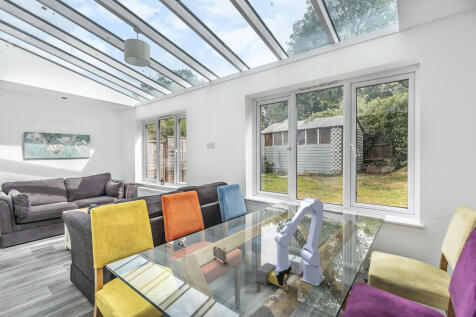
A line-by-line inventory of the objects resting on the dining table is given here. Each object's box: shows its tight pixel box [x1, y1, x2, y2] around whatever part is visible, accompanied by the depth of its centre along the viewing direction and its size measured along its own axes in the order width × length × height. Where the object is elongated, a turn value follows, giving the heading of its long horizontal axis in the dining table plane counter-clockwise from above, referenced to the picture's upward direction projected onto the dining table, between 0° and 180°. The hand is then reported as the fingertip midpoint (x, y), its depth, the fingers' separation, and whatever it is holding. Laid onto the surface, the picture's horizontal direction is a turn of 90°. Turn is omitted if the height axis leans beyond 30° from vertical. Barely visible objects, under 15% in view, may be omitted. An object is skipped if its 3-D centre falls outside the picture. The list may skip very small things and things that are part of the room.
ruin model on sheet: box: [212, 245, 227, 262], centre depth 147 cm, size 11×3×10 cm, turn 39°
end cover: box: [268, 270, 288, 288], centre depth 118 cm, size 10×5×5 cm, turn 50°
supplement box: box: [288, 253, 303, 276], centre depth 132 cm, size 7×7×13 cm
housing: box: [256, 262, 277, 286], centre depth 122 cm, size 6×10×6 cm, turn 140°
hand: (283, 283), depth 116 cm, fingers closed on end cover, 5 cm apart
